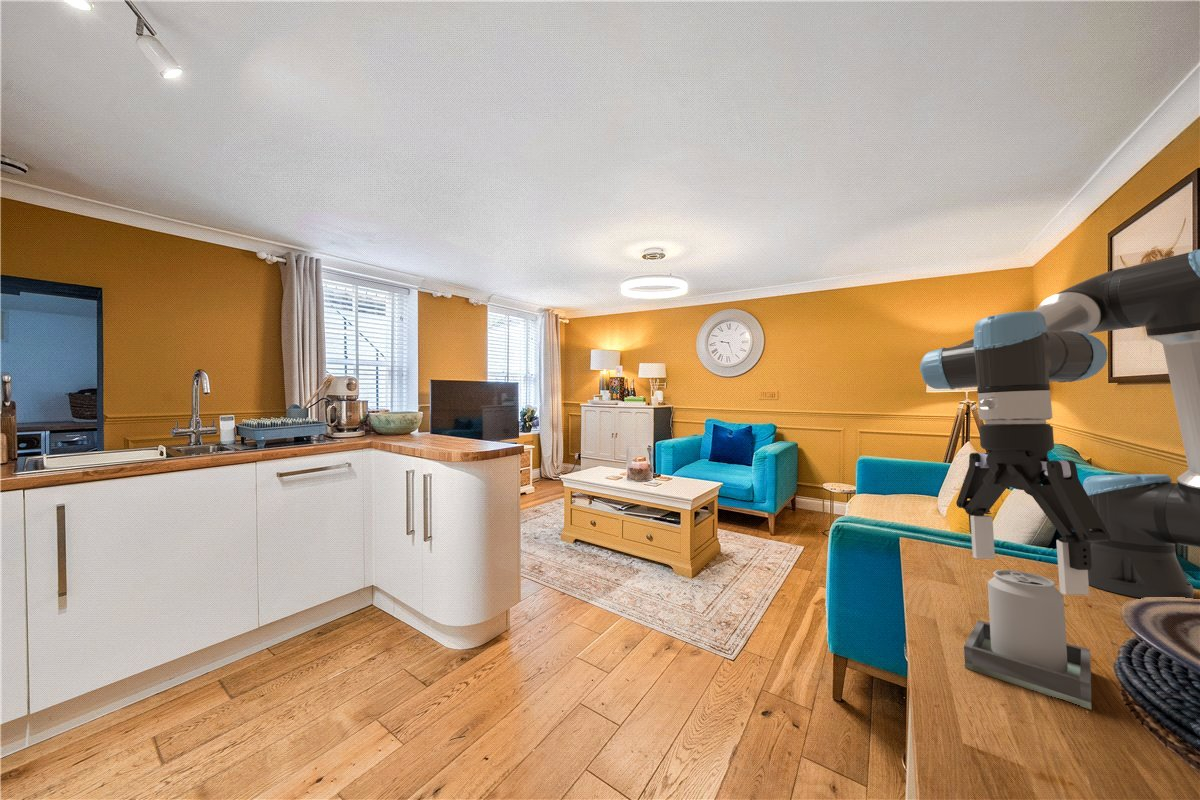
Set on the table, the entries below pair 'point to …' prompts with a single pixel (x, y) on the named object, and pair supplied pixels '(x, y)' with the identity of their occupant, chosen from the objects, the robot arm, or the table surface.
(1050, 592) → the can
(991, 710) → the table surface
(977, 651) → the tray
